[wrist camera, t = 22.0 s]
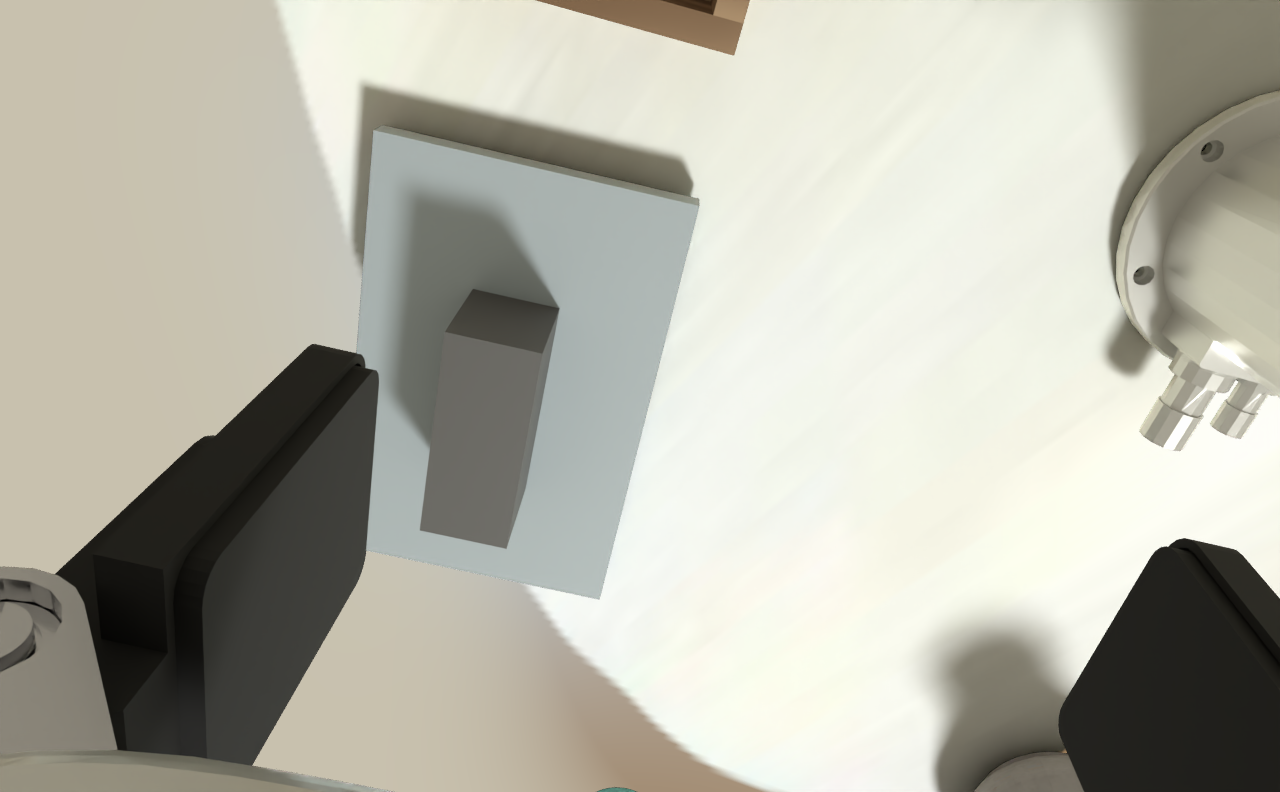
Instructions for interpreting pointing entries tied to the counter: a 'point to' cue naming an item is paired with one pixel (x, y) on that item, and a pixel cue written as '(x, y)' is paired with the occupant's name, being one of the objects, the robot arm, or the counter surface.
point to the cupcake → (616, 790)
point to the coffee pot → (1033, 775)
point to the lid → (510, 354)
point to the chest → (673, 18)
